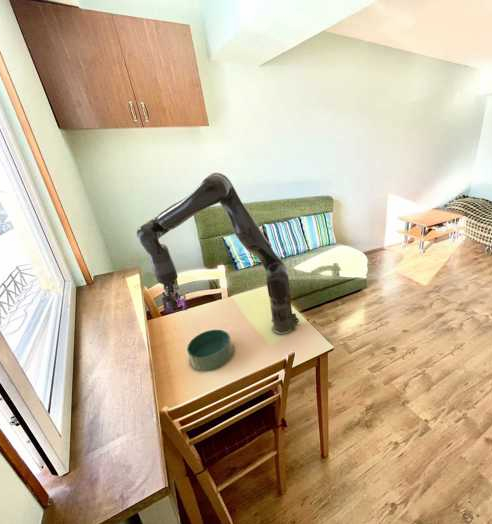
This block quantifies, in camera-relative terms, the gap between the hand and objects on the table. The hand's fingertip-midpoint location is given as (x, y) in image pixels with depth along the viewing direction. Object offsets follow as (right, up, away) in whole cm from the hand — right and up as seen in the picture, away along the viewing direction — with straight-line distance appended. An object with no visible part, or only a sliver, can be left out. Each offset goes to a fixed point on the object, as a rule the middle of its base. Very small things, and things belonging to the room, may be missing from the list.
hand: (176, 303), depth 120 cm
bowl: (+17, -21, -3) cm, 28 cm away
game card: (0, -2, +1) cm, 3 cm away
